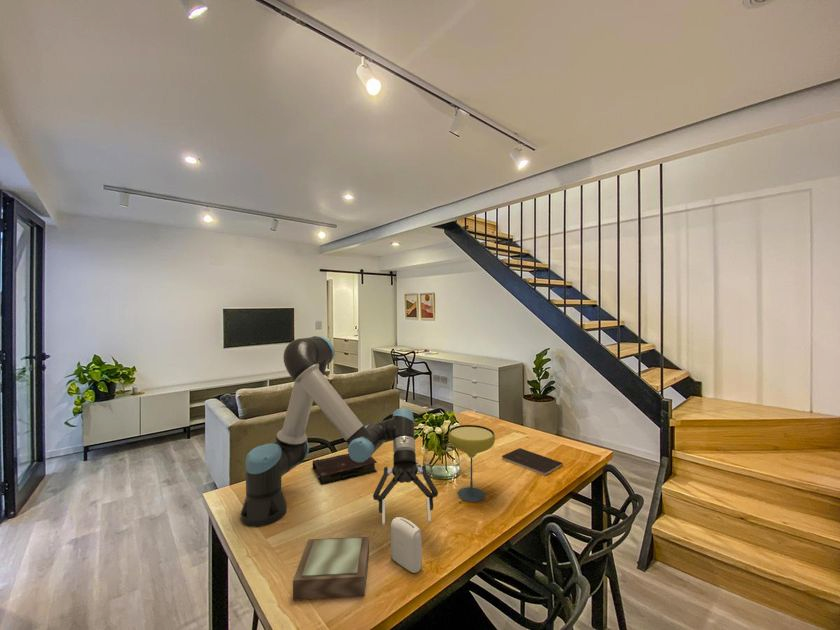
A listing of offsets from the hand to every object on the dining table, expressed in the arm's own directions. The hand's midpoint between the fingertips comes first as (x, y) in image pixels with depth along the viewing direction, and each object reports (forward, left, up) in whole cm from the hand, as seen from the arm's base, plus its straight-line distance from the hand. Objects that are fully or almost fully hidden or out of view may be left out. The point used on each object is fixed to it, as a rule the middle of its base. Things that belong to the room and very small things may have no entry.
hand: (406, 523), depth 106 cm
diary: (-26, +58, -10) cm, 64 cm away
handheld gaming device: (+5, +60, -10) cm, 61 cm away
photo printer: (0, -3, -10) cm, 10 cm away
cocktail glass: (+27, +33, -10) cm, 44 cm away
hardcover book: (+62, +60, -11) cm, 87 cm away
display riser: (-20, -6, -10) cm, 23 cm away
